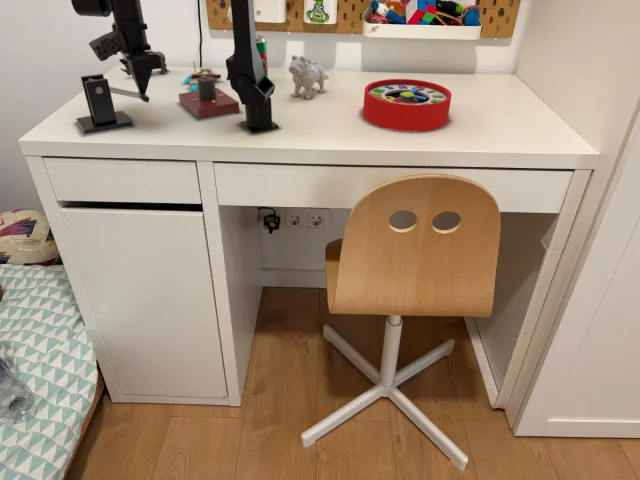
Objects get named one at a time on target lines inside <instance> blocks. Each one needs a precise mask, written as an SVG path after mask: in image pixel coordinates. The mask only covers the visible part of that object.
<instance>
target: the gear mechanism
mask: <svg viewBox="0 0 640 480" xmlns="http://www.w3.org/2000/svg"><path fill="white" fill-rule="evenodd" d="M192 63H193V70H194V72H192V73H189V74H188V75H187V77H186V78H185V79H184V83H185V84H189V85H188V86H189V90H190V91H189V92H193V91H197V90H198V82H197V79H198V78H199V77H202V75H204V76H210V77H214V78H215V81H216V80H217V79H221V77H222V74H220V73H219V74H217V73H216V74H215V73H213V72H212V67H200V68H199V70H200V71H198V72H197V70H196V69H197V68H196V61H192Z"/></svg>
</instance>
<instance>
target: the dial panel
mask: <svg viewBox="0 0 640 480" xmlns="http://www.w3.org/2000/svg"><path fill="white" fill-rule="evenodd" d="M178 98H179V104H181V106H183V107H184V108H185V109H187V110H188V111H189V112H190V113H191V114H192V115H194V116H195V117H196V118H197V119H198V120H202V119H207V118H213V117H218V116H224V115H229V114H239V113H240V104H239V101H237V100H236V99H235V98H233V97H231V96H230V95H229V94H227V93H226V92H225V91H223V90H221V89H220V88H218V87H216V99H213V100H201V99H200V98H199V90H195V91H188V92H180V93H178Z"/></svg>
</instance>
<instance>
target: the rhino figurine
mask: <svg viewBox="0 0 640 480" xmlns="http://www.w3.org/2000/svg"><path fill="white" fill-rule="evenodd" d="M154 52H155V53H156V54H157V55H159V56H160V57H161V58H162V61H163V68H161V69H160V71H159V74H160V75H165V74H166V72H168V68H167V66H168V65H167V63H166V56H165V54H164V52H162V51H159V50H157V51H154ZM120 70H121V71H122V72H124V73H125V74H126V75H127V76H128V77H129V76H132V74H131V72H130V70H129V69H128V68H127V67H126V66H124V68H122V67H120Z"/></svg>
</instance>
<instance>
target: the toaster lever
mask: <svg viewBox="0 0 640 480" xmlns="http://www.w3.org/2000/svg"><path fill="white" fill-rule="evenodd" d="M91 80H95V79H90V78H89V80H88V81H91ZM109 88H110V92H111V94H116V95H121V96H125V97H130V98H135V99H139V100H142V102H144V103H150V97H149V96H148V95H147V93H145V94H140V92H139V90H138V91H137V92H136V91H132V90H127V89H122V88H118V87H113V86H109Z"/></svg>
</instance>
